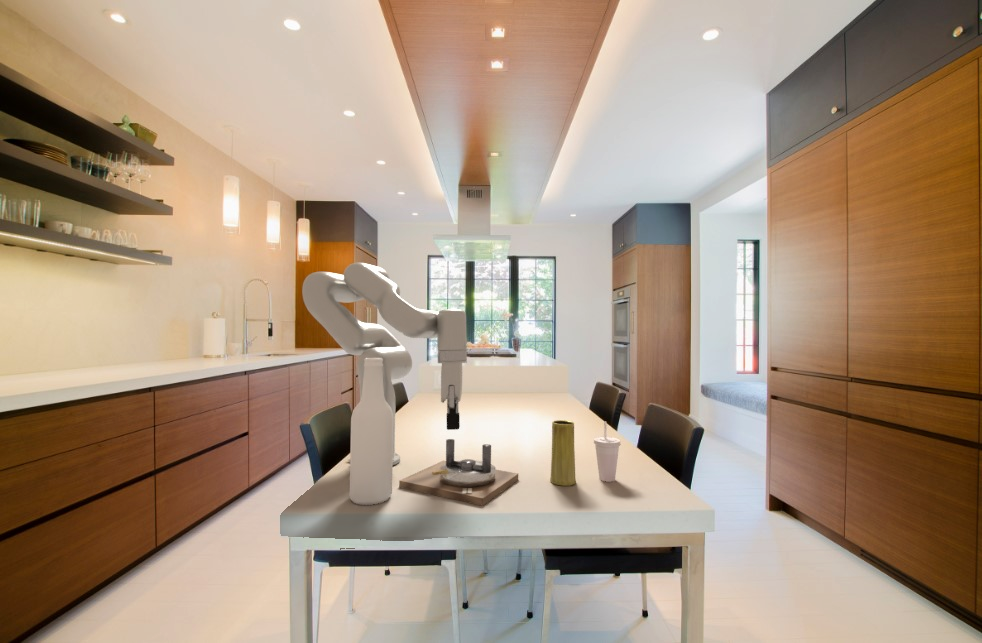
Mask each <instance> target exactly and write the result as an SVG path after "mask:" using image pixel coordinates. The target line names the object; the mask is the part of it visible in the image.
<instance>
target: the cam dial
mask: <svg viewBox="0 0 982 643" xmlns="http://www.w3.org/2000/svg"><path fill="white" fill-rule="evenodd" d="M445 440H446V441H445V461H446V464H445V465H443V466H442V467H441V468H440V470H439V471H433V472H432V475H438V474H440V480H441V481H442V482H444V483H446V484H449V485H452V486H459V487H475V486H482V485H486V484H489V483H491V482H493V481H494V480H495V470H496V467H495V465H494V464H493V463H492V445H491V444H482V448H481V449H482V450H481V452H482V454H481V456H482V459H481V460H475V459H468V458H467V459H461V460H455V439H452V438H448V439H445Z"/></svg>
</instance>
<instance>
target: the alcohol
mask: <svg viewBox="0 0 982 643" xmlns="http://www.w3.org/2000/svg"><path fill="white" fill-rule="evenodd" d="M364 361H365V364H364V367H365V368H364V378H363V388H362V397H361V400H360V399H359V402H358V403H357V405H356V406H355V407H354V408H353V411H352V414H351V418H350V451H349V452H350V453H349V456H350V457H349V458H350V459H349V460H350V461H349V499H350V500H351V501H352V503H353V504H355V503H356V505H358V504H359V505H360V506H374V505H373V504H375V505H378V503H379V504H382V503H384V501H385V502H386V501H388V500H389V499H390V497H391V496H392V494H393V468H394V467H393V466H394V465H393V412H392V409H391V407H390V406H389V404H388V403H387V402H386V401H385V397H384V388H383V371H382V366H383V364H382V361H383V359H382V358H365V359H364ZM381 502H382V503H381ZM359 505H358V506H359Z"/></svg>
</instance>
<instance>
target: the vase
mask: <svg viewBox="0 0 982 643" xmlns="http://www.w3.org/2000/svg"><path fill="white" fill-rule="evenodd" d="M551 427H552V430H551V432H552V433H551V434H552V436H551V460H550V461H551V464H550V465H551V466H550V479H549V480H550V482H551V483H552V484H553V485H556V486H561V487H562V486H563V487H569V486H574V485H575V484H576V483H577V480H576V479H577V478H576V458H575V457H576V455H575V453H576V452H575V423H574V421H572V420H566V419H564V420H560V419H557V420H553V421H552V425H551Z"/></svg>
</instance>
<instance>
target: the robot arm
mask: <svg viewBox="0 0 982 643" xmlns="http://www.w3.org/2000/svg"><path fill="white" fill-rule="evenodd" d="M389 276H390V275H389V274H388V272H387V271H386V270H385V269H384V268H382V267H380V266H377V265H373V264H369V263H365V262H354V263H353V262H352V263H351V264H349V265H347V267H345V269H344V271H343V274H340V273H335V272H331V271H316V272H312V273H309V274H308V275H307V276H306V277H305V279H304V280H303V284H302V288H301V291H302V293H301V294H302V299H303V303H304V305H305V307H306V308H307V309H306V310H307V311H308V312H309V314H310V315H311V316H312V317H313V318H314V319H315V320H316V321H317V322H318V323H319V324H320V325H321V326H322V327H323V328H324V329H325V330H326V332H327V333H328V334H329V335H330V336H331V337H332V338H333V339H334V341H335V342H336V343H337V344H338V345H339V346H340V348H342V349H343V351H345V353H347V354H348V355H352V356H359V357H358V358H357V361H356V370H357V371H356V372H357V377H358V383H359V401H360V400H361V397H362V388H363V378H364V368H365V367H364V364H365V361H364V359H365V358H382V359H383V361H382V364H383V366H382V371H383V388H384V397H385V401H386V402H387V403H388V404H389V406H390V407H391V409H392V412H393V466H395V465H397V464H399V463H400V461H401V455H400V454H398V453H396V452H395V451H396V448H395V447H396V445H395V444H396V439H395V438H396V391H395V387H394V385H393V380H398V379H403V378H405V377H406V376H407V375H409V373H410V372H411V370H412V368H413V360H412V357H411V354H410V353H409V351H408V350H407V348H406V346H405V347H404V346H403V344H402V343H401V342H400V340H398V339H397V338H396V337H395V336H394V335H393V333H391V332H390V331H389V330H388V328H386V327H384V326H383V325H381V324H378V323H374V322H371V323H370V322H365V321H364V322H363V321H361V320H359V318H357V317H356V316H355V315H354V314H353V313H352V312H351V311H350V310H349V309H348V308H347V307H346V306H344V304H347V303H348V304H349V303H355V302H358V301H363V300H365V301H366V302H368V303H369V304H371V305H372V306H373V307H374V308H376V309H377V310H378V313H379V314H380V316H381V318H382V319H383V320H384V322H386V323H387V324H388V325H389V326H390V327H392V328H393V329H394V330H396V331H398V333H400V334H402V335H404V336H405V337H408V338H411V339H435V338H437V339H436V340H437V341H436V342H437V363H438V364H441V370H440V403H442V404H444V403H445V401H446V410H447V411H446V430H448V431H449V430H454V431H455V430H459V429H460V426H461V425H460V411H459V403H460V402H461V400H462V394H463V364H465V363H466V364H467V363H468V361H467V359H468V358H467V355H468V354H467V353H468V351H467V347H468V346H467V313H466V311H464V310H462V309H456V308H451V309H450V308H449V309H441V310H439V311H436V310H430V309H429V310H428V309H422V308H416V307H414V306H413V305H411V304H410V303H408V302H407V301H406V300H404V299H403V298H401V296H400V295H401V289H400V286H399V285H397V283H395V282H394V281H392V280H391V279H390V277H389ZM342 303H343V304H342Z"/></svg>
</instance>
